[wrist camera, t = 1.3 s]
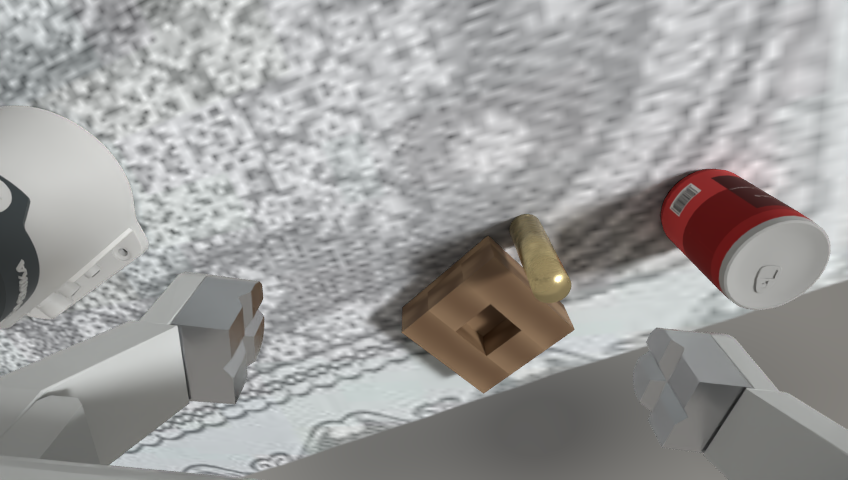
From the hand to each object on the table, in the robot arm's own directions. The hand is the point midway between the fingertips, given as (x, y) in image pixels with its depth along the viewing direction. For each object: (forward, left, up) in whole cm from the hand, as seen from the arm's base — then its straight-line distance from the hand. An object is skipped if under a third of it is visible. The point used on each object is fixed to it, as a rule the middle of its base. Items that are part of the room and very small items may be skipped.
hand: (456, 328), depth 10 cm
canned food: (+9, -27, -33) cm, 43 cm away
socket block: (-13, -21, -32) cm, 41 cm away
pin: (-4, -17, -32) cm, 37 cm away
